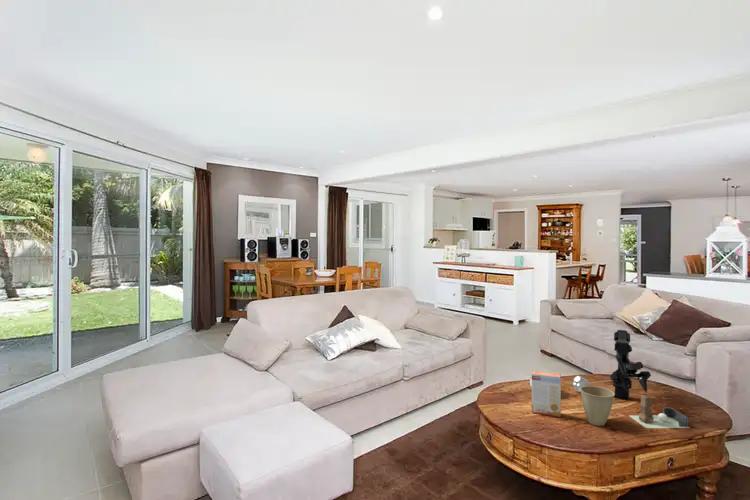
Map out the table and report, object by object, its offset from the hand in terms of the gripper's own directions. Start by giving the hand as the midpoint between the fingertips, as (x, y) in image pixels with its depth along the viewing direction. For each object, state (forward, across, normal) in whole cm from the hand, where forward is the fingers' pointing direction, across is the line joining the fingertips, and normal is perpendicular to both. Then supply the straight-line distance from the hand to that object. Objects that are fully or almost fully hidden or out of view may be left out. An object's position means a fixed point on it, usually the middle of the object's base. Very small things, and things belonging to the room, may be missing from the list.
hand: (637, 391), depth 213 cm
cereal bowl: (-15, -33, +34) cm, 50 cm away
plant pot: (+14, -24, +5) cm, 28 cm away
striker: (+14, 0, +4) cm, 14 cm away
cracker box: (+6, -44, +13) cm, 47 cm away
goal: (+14, +14, +4) cm, 20 cm away
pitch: (+14, +6, +4) cm, 16 cm away
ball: (+12, +8, +2) cm, 15 cm away
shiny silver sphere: (-15, -12, +34) cm, 39 cm away
